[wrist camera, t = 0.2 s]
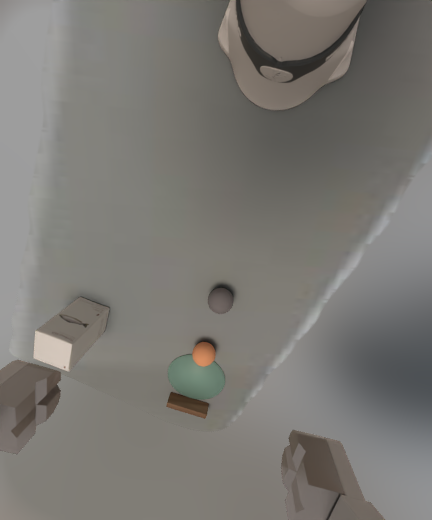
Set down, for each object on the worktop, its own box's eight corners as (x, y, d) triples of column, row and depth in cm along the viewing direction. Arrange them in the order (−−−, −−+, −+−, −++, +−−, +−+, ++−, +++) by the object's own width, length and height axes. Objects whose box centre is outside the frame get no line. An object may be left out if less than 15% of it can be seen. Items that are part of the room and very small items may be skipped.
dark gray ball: (213, 280, 49) (209, 292, 45) (237, 287, 49) (235, 300, 45) (207, 301, 51) (203, 314, 47) (230, 307, 51) (228, 322, 46)
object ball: (197, 334, 55) (192, 350, 50) (219, 340, 54) (216, 357, 50) (192, 351, 56) (187, 367, 52) (213, 357, 56) (210, 374, 52)
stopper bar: (171, 391, 62) (167, 402, 59) (208, 403, 62) (206, 414, 59) (169, 395, 63) (166, 406, 60) (207, 407, 62) (205, 418, 60)
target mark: (173, 347, 57) (173, 347, 57) (231, 364, 56) (231, 365, 56) (163, 388, 62) (163, 389, 62) (216, 405, 62) (216, 405, 62)
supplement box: (110, 307, 55) (73, 345, 43) (105, 331, 58) (68, 373, 46) (80, 295, 55) (34, 330, 43) (76, 320, 58) (31, 359, 46)
